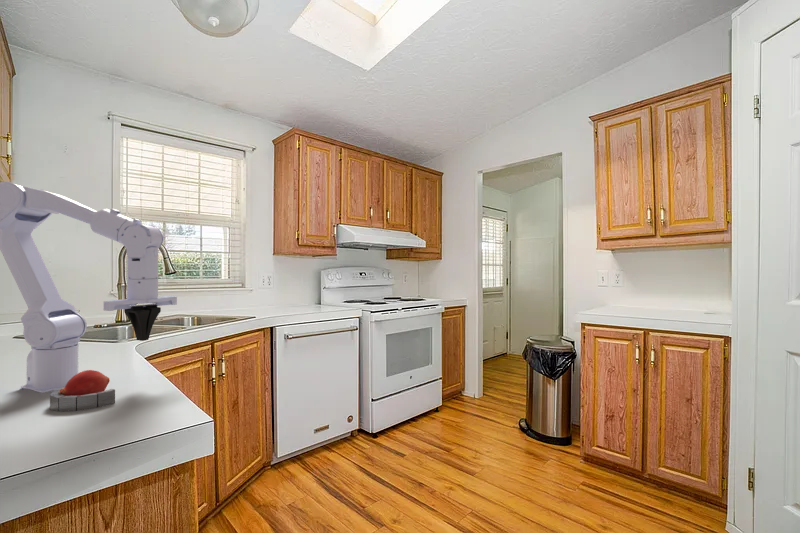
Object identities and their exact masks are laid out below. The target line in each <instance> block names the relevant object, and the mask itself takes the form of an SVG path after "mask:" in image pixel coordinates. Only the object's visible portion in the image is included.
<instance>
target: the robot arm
mask: <svg viewBox="0 0 800 533" xmlns="http://www.w3.org/2000/svg"><path fill="white" fill-rule="evenodd" d="M53 214H55V215H59V214H61V215H64V216H65V217H66V216H67V217H69V218H72V219H74V220H77V221H80V222H83V223H86V224H89V226H90V229H91V231H92V232H93V233H95V234H97V235H99V236H103V237H105V238H108V239H110V240H112V241H115V242H117V243H120V244H122V245H123V246H124V248H125V250H126V256H127V257H126V258H127V259H126V265H127V266H126V268H127V269H126V279H127V280H126V281H127V282H126V298H124V299H123V298H122V299H121V298H120V299H114V300H104V301H103V311H105V312H107V311H108V312H111V311H117V310H118V311H119V310H123V311H124V314H125V315H126V316H127V318H128V320H129V322H130V323H131V325H132V328H133V331H134V333H135V338H136V341H140V342H144V341H148V340H149V339H150V335H151V331H152V329H153V326H154V323H155V321H156V320H157V318H158V316H159V314H160V313H161V311H162V310H161V309H162V308H161V306H175V305H177V304H178V302H177V301H178V296H176V295H175V296H174V295H173V296H172V295H171V296H170V295H169V296H159V249H160V248H161V246H162V245H163V243H164V235H163V233H162V231H161V230H160V229H159V228H157V227H155V225H150V224H148V225H146V224H142V221H141V220H140V219H138V218H130V217H129V216H128V217H127V216H125V215H122V214H121V211H120V210H118V209H115V208H110V209H108V208H103V209H100V210H95V209H93V208H91V207H89V206H87V205H84V204H82V203H80V202H78V201H76V200H73V199H71V198H68V197H67V196H64V195H61V194H59V193H54V192H50V191H47V190H44V189H37V188H32V187H29V186H25V185H20V184H16V183H14V182H11V181H1V182H0V252H1V255H2V257H3V258H4V260H5V263H6V264H7V266H8V268H9V270H10V273H11V275H12V277H13V279H14V281H15V284H16V286H17V287H18V289H19V292H20V293H21V296H22V299H23V300H24V302H25V304H26V306H27V308H28V309H27V310H26V311H25V312H24V313H23V314H22V316H21V318H20V321H21V323H22V325H23V332H22V333H23V338H24V340H25V342H26V343H27V344H28V345H29V346H30V347H31V350H30V351H29V352H28V354H27V357H26V384H22V385H20V388H21V389H25V390H26V389H28V390H32V391H33V392H34V391H35V392H37V393H42V394H43V393H48V392H52V391H53V390H56V389H58V388H61V387H63V386H66V384H67V382H68V381H69V380H70V379H71V378H72V377H73V376H74V375H76V374H78V373H79V343H80V342H81V337H83V336H84V335H85V333H86V331H87V326H88V324H87V321H86V318H85V317H84V316H82V314H80V313H79V312H78V311H77V309H76V308H75V306H74V305H73V304H71V303H69V302H68V301H67V300H65V299H63V298H62V297H61V295H60V292H59V290H58V288H57V286H56V284H55V282H54V281H53V278H52V277H51V274H50V271H49V269H48V268H47V266H46V263H45V262H44V260H43V257H42V255H41V254H40V251H39V249H38V247H37V244H36V243H35V241H34V238H33V236H32V232H33V231H34V230H35V229H37V228H38V227H39V226H41V225H42V224H43V223H44V222H45V221H46V220H48V219H49V217H51V216H52V215H53Z"/></svg>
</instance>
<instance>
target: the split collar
mask: <svg viewBox="0 0 800 533" xmlns="http://www.w3.org/2000/svg"><path fill="white" fill-rule="evenodd" d="M64 387H65V386H63V387H61V388H58V389H56V390H53V391H51V393H50V395H49V410H51V411H54V412H58V413H62V412H80V411H85V410H86V411H87V410H93V409H97V408H98V409H99V408H102V406H103V407H105V406H110V405H113V404H116V389H114V388H109V389H107V390H106V389H105V391H102V392H98V393H92V394H86V395H78V396H64V395H62V394H60V393H59V390H61V389H63V388H64Z"/></svg>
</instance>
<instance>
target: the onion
mask: <svg viewBox="0 0 800 533" xmlns="http://www.w3.org/2000/svg"><path fill="white" fill-rule="evenodd" d="M109 383H110V378H109V377H108V376H106V375H105V374H104V373H102V372H100V371H98V370H93V369H87V370H81V372H78V374H76V375H74V376H73V377H72V378H71V379H70V380H69V381H68V382H67V384H66V386H65V387H64V388H63V389H61V390H59V393H60V394H62V395H64V396H78V395H86V394H92V393H98V392H102V391H106V389H107V387H108V384H109Z"/></svg>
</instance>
